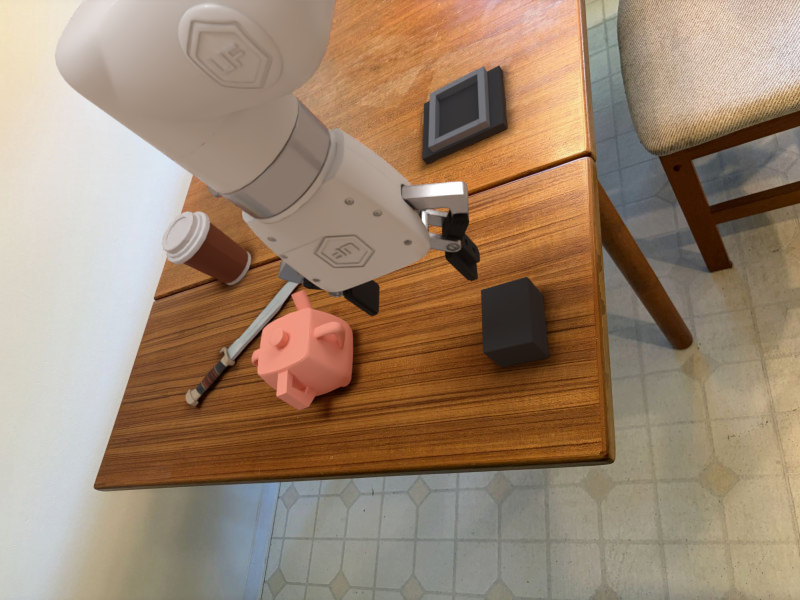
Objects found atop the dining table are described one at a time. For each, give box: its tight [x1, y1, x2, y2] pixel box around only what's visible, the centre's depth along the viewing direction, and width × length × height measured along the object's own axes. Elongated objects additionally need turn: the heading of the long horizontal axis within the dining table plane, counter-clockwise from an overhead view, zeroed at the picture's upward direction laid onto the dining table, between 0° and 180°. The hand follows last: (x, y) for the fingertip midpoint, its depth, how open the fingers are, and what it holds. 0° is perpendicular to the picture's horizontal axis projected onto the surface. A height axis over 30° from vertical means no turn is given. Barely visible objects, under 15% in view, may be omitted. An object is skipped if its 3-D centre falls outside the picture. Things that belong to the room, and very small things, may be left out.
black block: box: [480, 276, 550, 368], centre depth 54 cm, size 5×7×4 cm
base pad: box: [421, 65, 508, 165], centre depth 75 cm, size 12×11×2 cm
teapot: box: [251, 288, 354, 411], centre depth 66 cm, size 12×12×10 cm
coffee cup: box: [161, 210, 252, 286], centre depth 89 cm, size 9×9×12 cm
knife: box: [185, 281, 299, 407], centre depth 82 cm, size 27×2×5 cm
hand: (422, 284), depth 47 cm, fingers open, 9 cm apart
